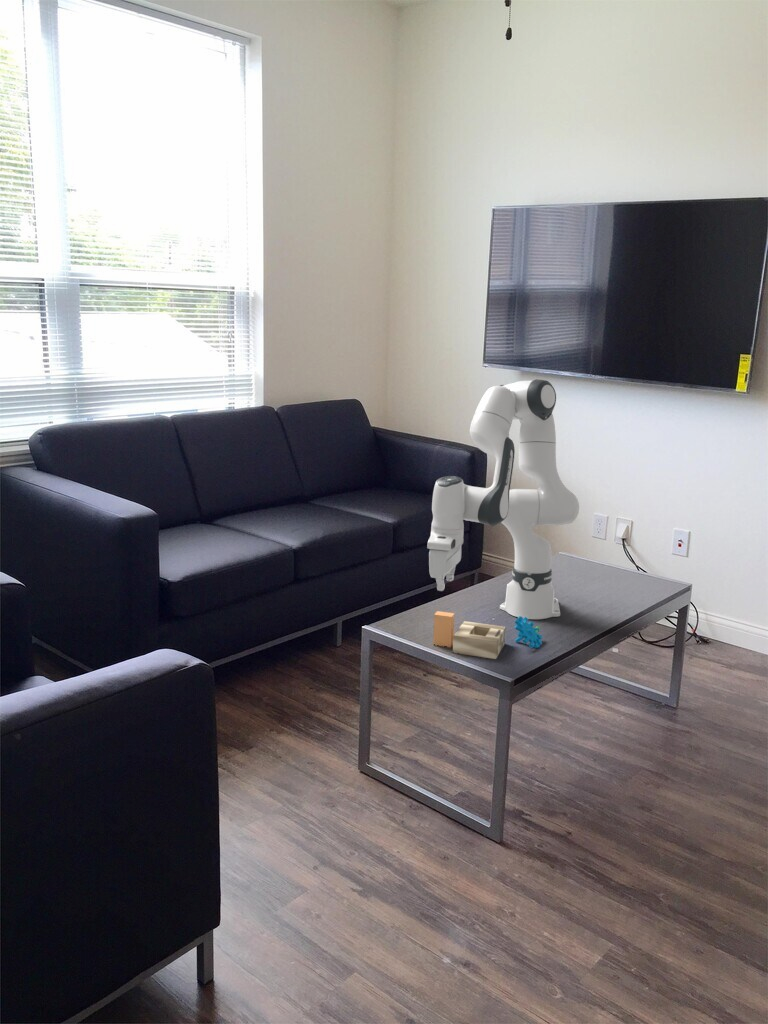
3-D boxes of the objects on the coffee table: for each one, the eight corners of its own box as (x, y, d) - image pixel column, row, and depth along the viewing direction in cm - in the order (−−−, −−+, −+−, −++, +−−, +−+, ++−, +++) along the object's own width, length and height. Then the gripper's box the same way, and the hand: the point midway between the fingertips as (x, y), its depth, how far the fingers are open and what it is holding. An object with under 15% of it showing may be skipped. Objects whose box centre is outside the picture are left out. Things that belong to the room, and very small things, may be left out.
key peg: (436, 641, 244) (437, 611, 242) (453, 643, 243) (454, 613, 241) (433, 644, 242) (434, 614, 240) (450, 647, 240) (451, 616, 238)
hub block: (463, 637, 247) (464, 620, 246) (504, 643, 244) (505, 626, 242) (452, 652, 236) (453, 634, 235) (495, 659, 232) (496, 640, 231)
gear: (530, 648, 236) (512, 617, 240) (515, 659, 239) (497, 627, 243) (551, 643, 244) (533, 612, 248) (536, 653, 248) (518, 623, 251)
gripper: (446, 527, 246) (444, 573, 249) (425, 544, 227) (423, 594, 230) (467, 529, 244) (465, 576, 247) (448, 546, 225) (446, 597, 228)
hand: (445, 585), depth 238 cm, fingers open, 8 cm apart
